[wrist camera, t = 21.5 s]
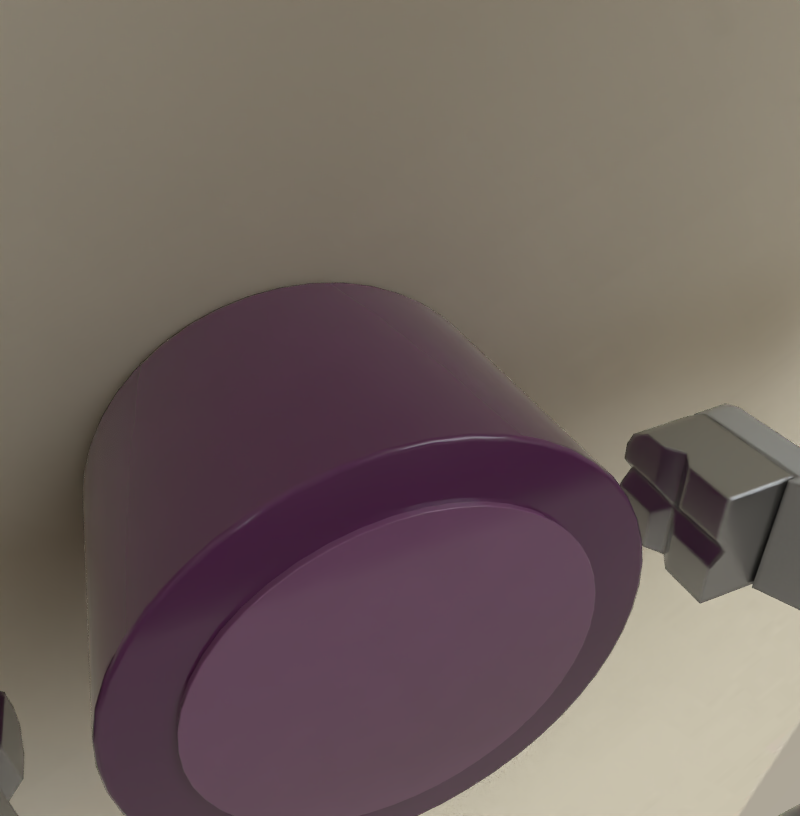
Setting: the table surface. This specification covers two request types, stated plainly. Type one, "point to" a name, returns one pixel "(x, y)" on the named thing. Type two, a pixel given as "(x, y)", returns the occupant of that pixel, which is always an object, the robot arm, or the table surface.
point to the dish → (337, 564)
